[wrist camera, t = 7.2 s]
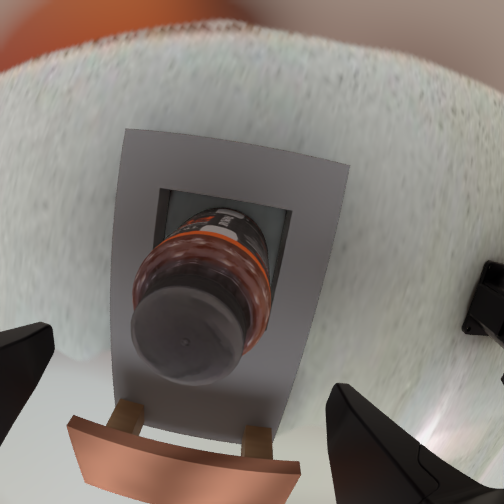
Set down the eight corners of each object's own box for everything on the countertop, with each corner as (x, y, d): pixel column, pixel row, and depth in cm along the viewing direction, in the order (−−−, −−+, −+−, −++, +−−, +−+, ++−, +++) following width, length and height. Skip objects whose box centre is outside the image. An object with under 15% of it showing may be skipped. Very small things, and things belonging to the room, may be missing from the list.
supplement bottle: (215, 186, 20) (167, 212, 9) (286, 246, 21) (315, 334, 10) (160, 255, 21) (79, 339, 10) (227, 309, 22) (205, 428, 11)
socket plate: (339, 165, 20) (349, 165, 17) (270, 427, 25) (270, 447, 23) (140, 131, 19) (125, 128, 17) (125, 399, 25) (116, 417, 22)
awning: (290, 391, 21) (301, 474, 14) (270, 447, 23) (273, 521, 16) (111, 357, 21) (66, 425, 13) (116, 417, 22) (85, 482, 15)
